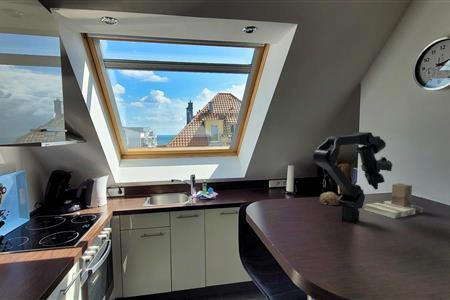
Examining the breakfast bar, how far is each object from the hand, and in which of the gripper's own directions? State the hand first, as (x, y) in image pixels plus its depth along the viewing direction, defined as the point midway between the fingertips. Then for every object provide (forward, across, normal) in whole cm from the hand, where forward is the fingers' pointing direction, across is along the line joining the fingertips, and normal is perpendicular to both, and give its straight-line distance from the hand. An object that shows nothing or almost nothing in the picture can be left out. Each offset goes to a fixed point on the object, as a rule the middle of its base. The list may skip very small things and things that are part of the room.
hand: (376, 189), depth 125 cm
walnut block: (+18, +12, -10) cm, 24 cm away
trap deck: (+18, +8, -5) cm, 20 cm away
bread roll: (+10, +14, +23) cm, 29 cm away
